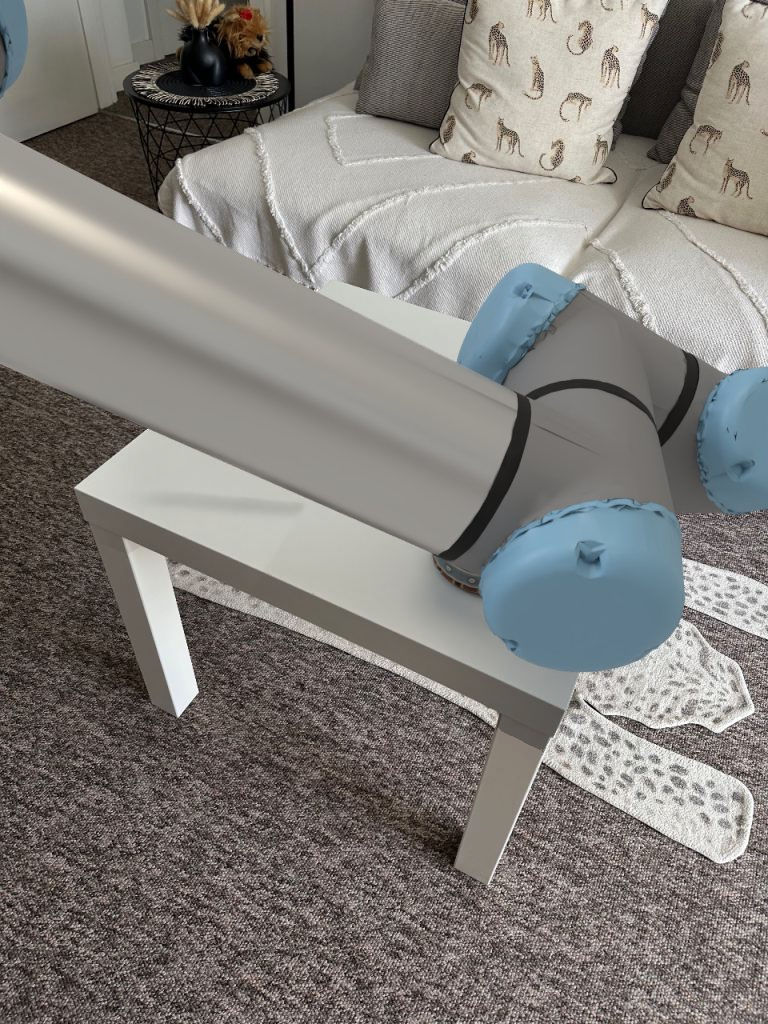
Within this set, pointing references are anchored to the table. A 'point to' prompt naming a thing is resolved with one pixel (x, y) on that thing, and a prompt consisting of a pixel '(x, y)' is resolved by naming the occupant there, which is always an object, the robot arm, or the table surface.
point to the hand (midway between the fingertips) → (498, 485)
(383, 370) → the robot arm
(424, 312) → the table surface
